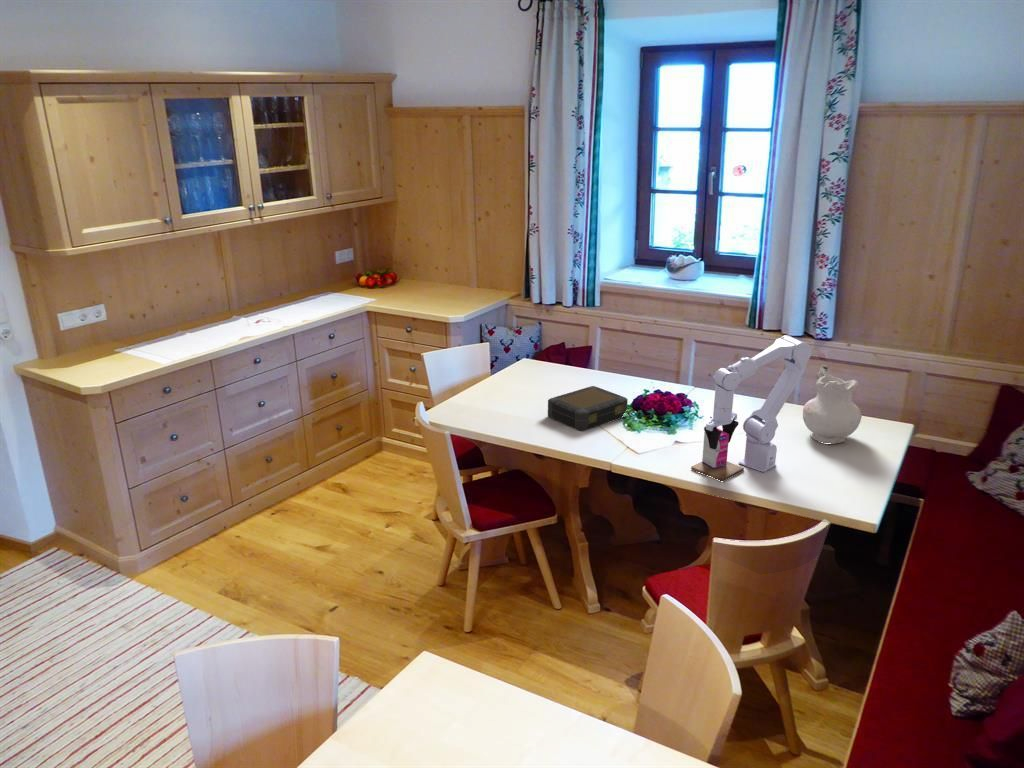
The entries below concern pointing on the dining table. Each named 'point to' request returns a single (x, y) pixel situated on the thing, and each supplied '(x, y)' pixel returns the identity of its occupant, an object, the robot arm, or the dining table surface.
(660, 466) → the dining table surface
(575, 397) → the cash box
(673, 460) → the dining table surface
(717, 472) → the cardboard square
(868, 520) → the dining table surface
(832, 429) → the ceramic pitcher
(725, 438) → the supplement box
